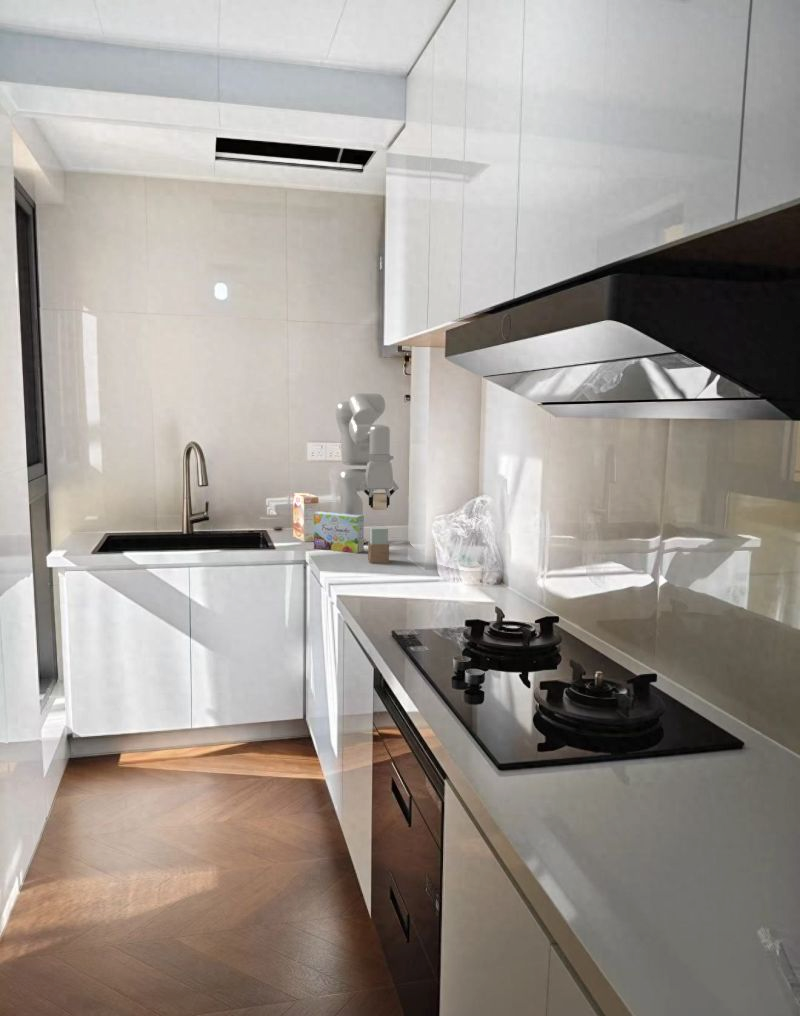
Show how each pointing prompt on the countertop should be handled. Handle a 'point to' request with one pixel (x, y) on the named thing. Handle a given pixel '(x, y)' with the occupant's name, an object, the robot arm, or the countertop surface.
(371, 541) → the sage top block
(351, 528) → the snack box
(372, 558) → the walnut base block
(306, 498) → the coffeecake box
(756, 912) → the countertop surface
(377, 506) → the ash block
